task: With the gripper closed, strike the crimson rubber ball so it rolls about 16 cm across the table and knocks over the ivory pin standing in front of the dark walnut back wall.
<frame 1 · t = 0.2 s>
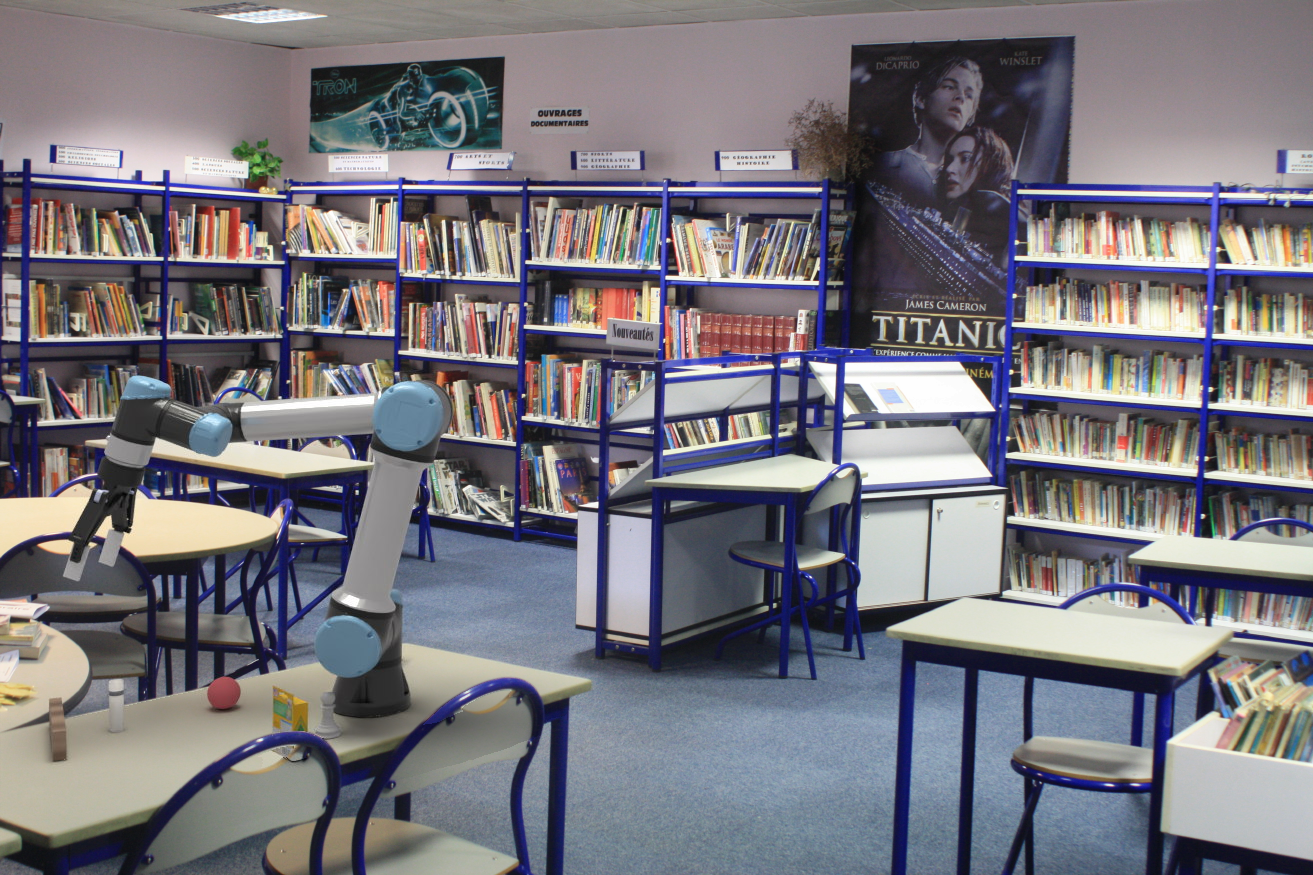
hand: (89, 571, 221), 28 cm above the table, tool tilted 20°, fingers open, 13 cm apart
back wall: (57, 742, 211), on the table
pin: (116, 730, 218), on the table
ball: (223, 692, 232), on the table
chess piece: (327, 736, 219), on the table
puzzle cube: (368, 666, 265), on the table
crayon box: (290, 755, 208), on the table
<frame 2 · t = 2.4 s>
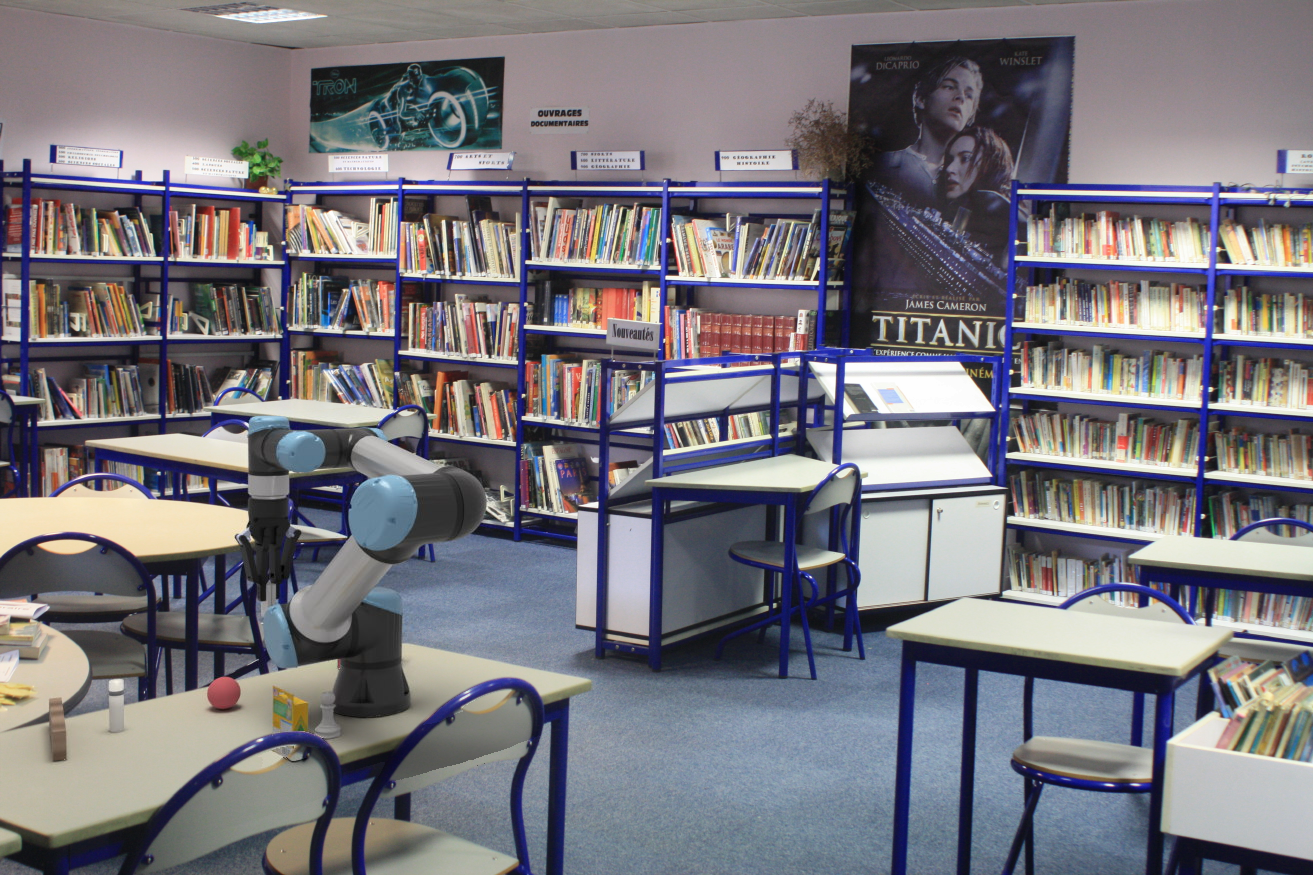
hand: (268, 616, 237), 16 cm above the table, tool pointing down, fingers closed
nothing on the table moved.
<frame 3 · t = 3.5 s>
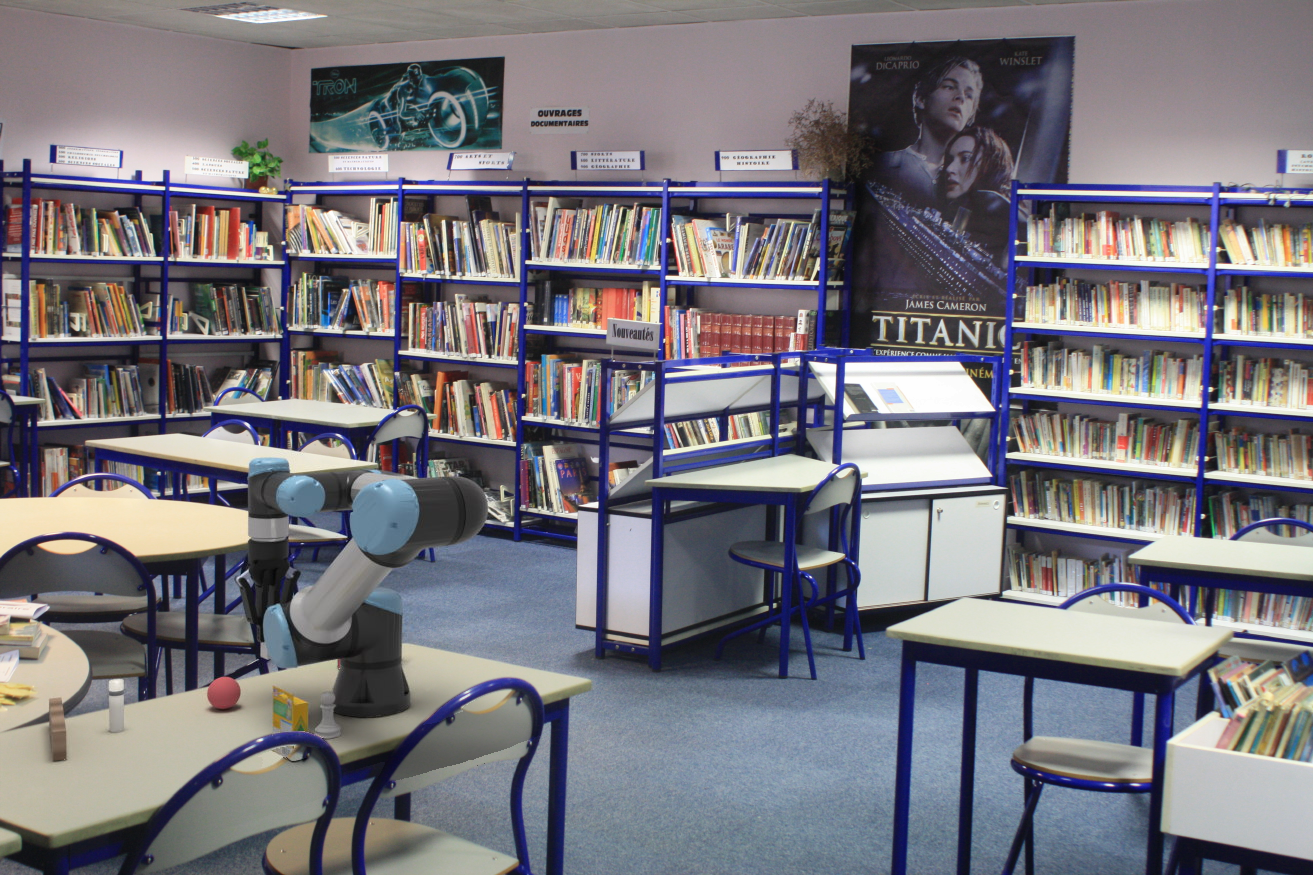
hand: (267, 657, 238), 8 cm above the table, tool pointing down, fingers closed
nothing on the table moved.
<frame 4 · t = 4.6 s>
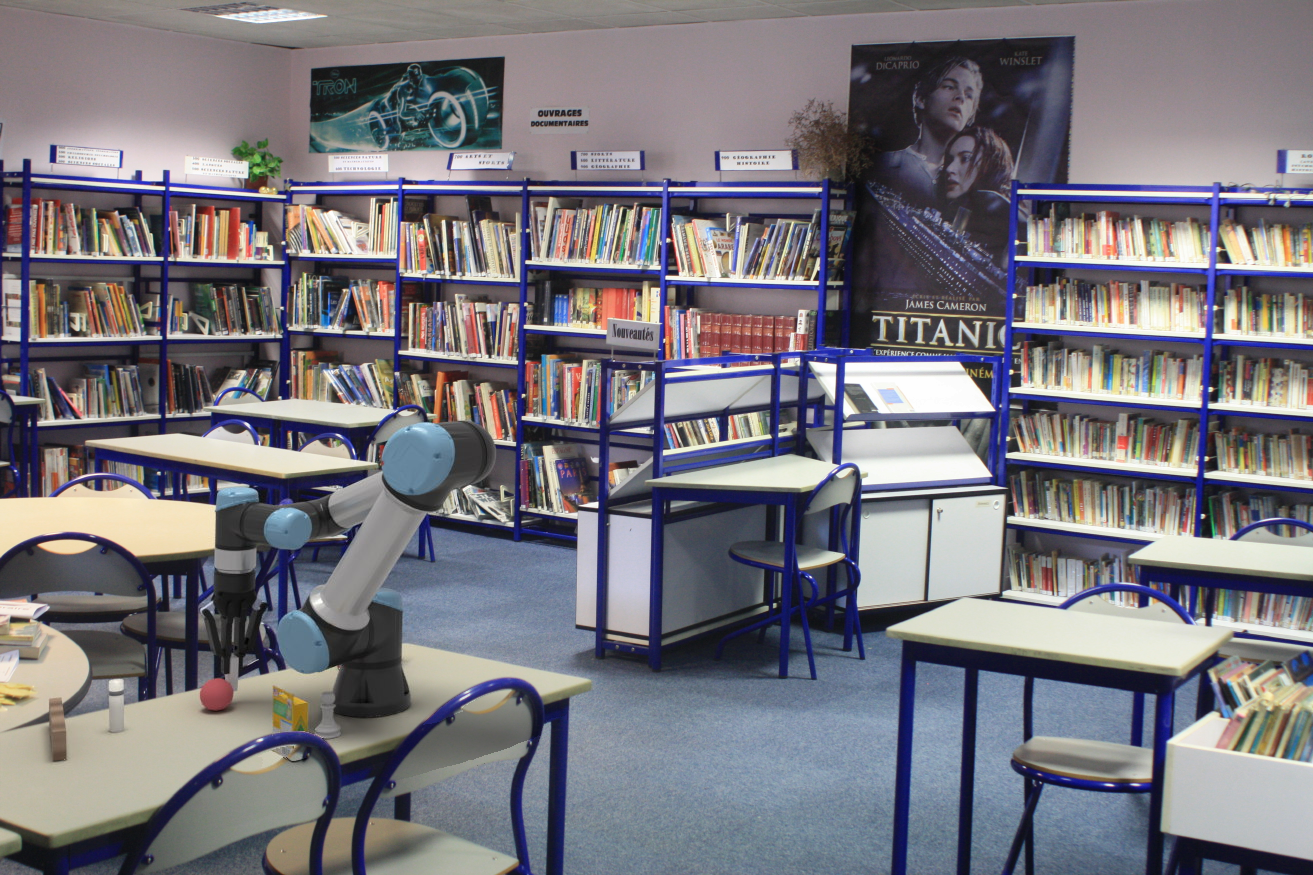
hand: (231, 688, 235), 3 cm above the table, tool pointing down, fingers closed
ball: (216, 694, 231), on the table, touching gripper
everything else where it was.
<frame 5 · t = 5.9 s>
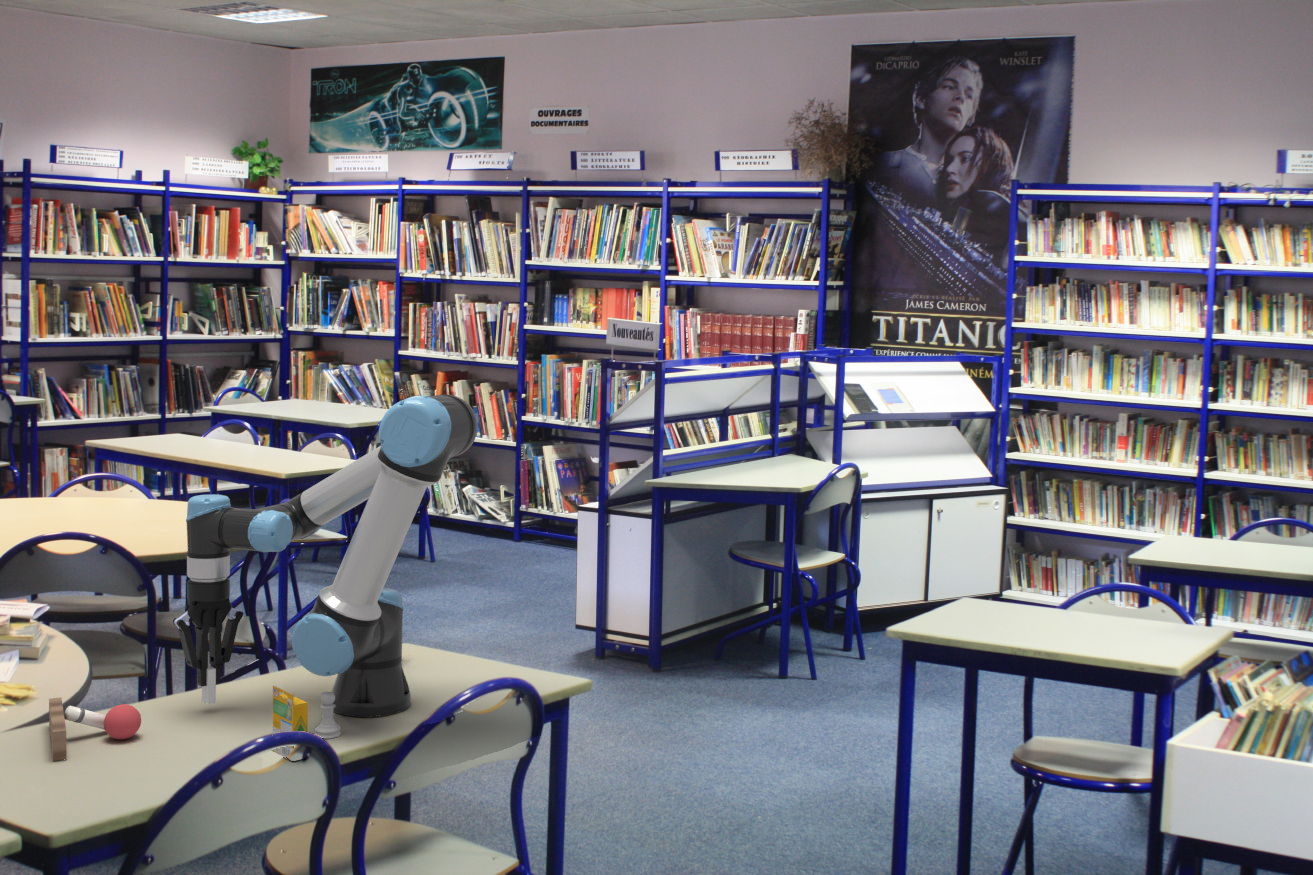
hand: (208, 701, 230), 2 cm above the table, tool pointing down, fingers closed
pin: (115, 724, 217), point 1 cm above the table, tilted 64°
ball: (122, 721, 213), on the table
everything else where it was.
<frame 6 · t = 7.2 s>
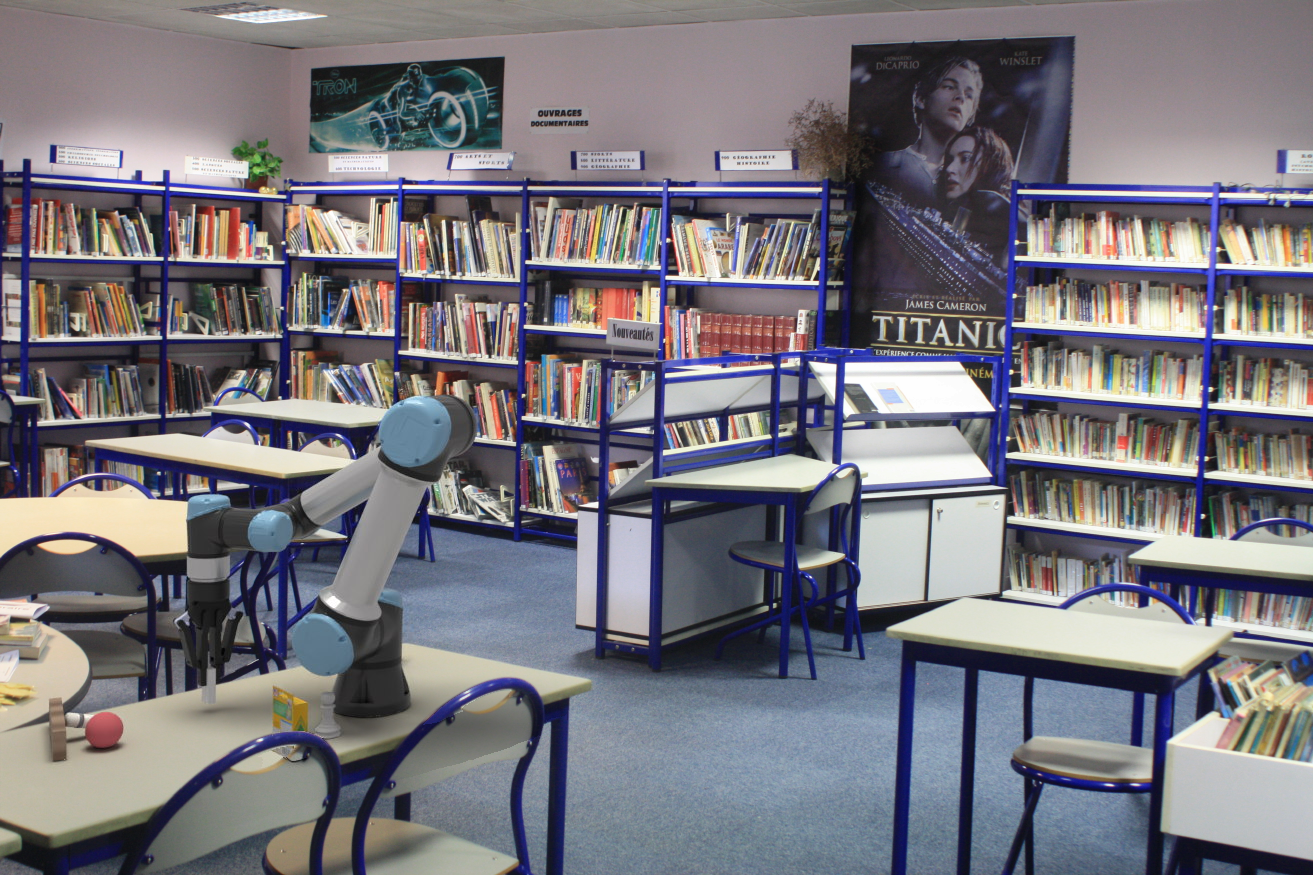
hand: (208, 701, 230), 2 cm above the table, tool pointing down, fingers closed
pin: (117, 724, 218), point 1 cm above the table, tilted 72°, touching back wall
ball: (104, 729, 209), on the table
everything else where it was.
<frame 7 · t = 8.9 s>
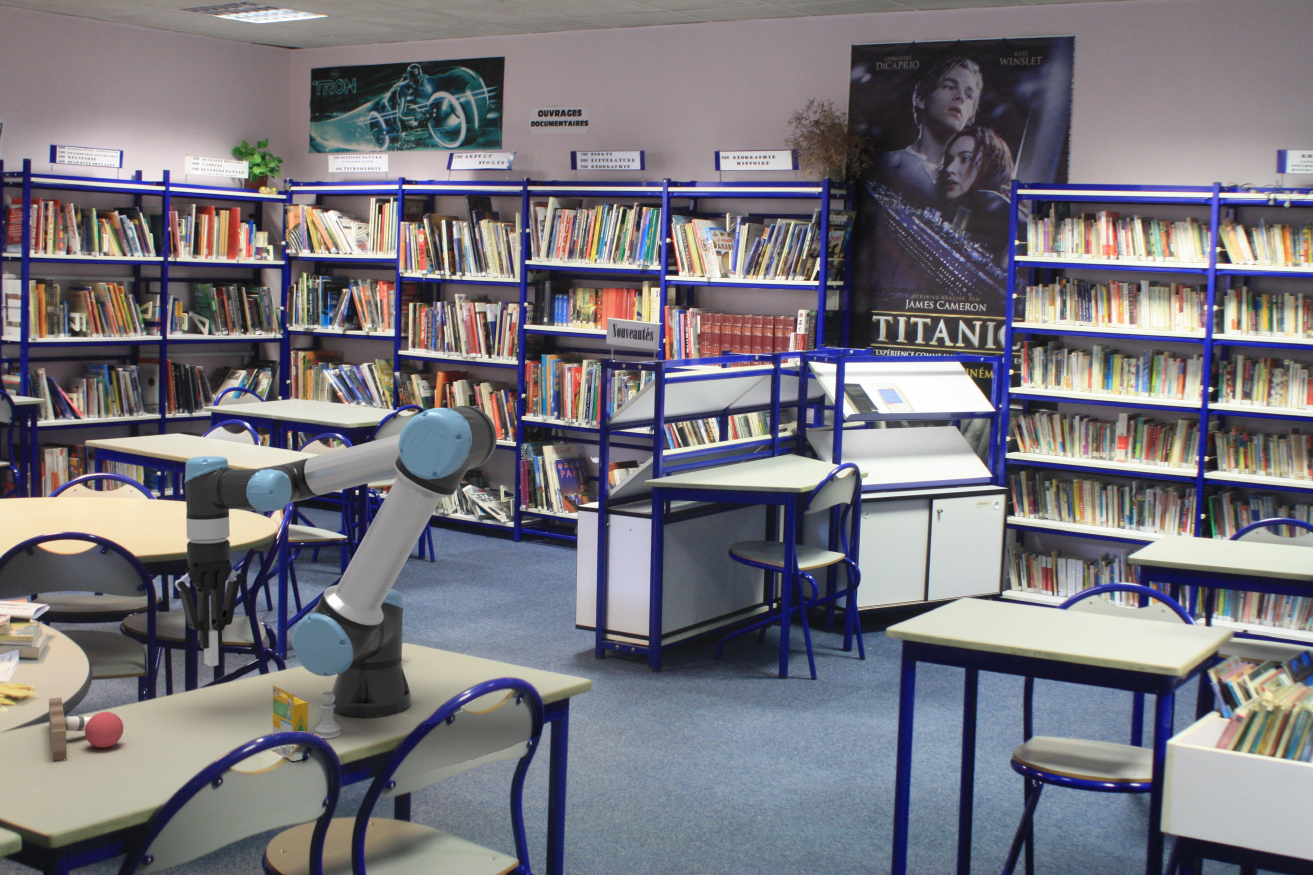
hand: (211, 664, 229), 9 cm above the table, tool pointing down, fingers closed
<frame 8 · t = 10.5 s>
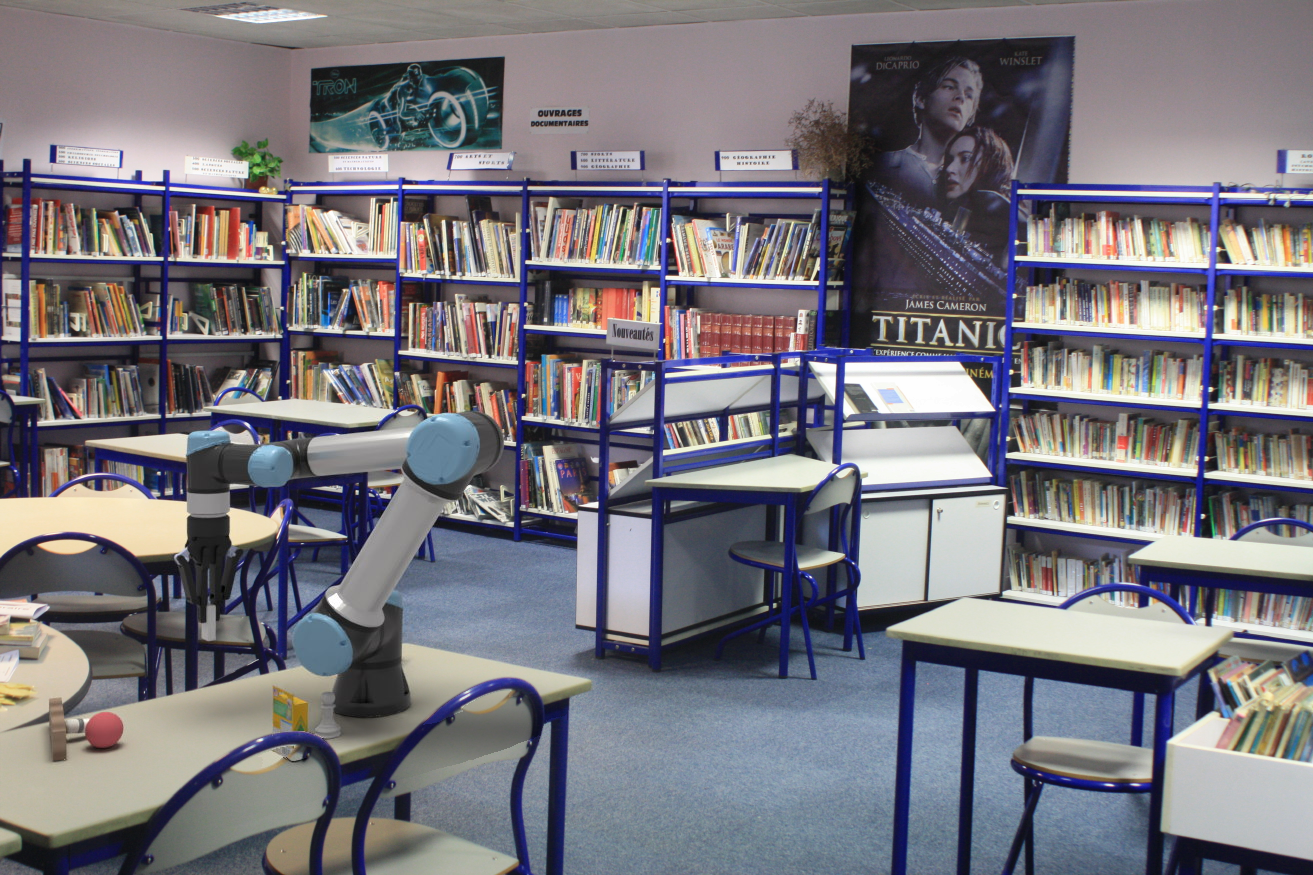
hand: (208, 638, 229), 14 cm above the table, tool pointing down, fingers closed
nothing on the table moved.
at the end: pin tilted 80°; pin never touched the robot; ball moved 26.0 cm from its start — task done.
